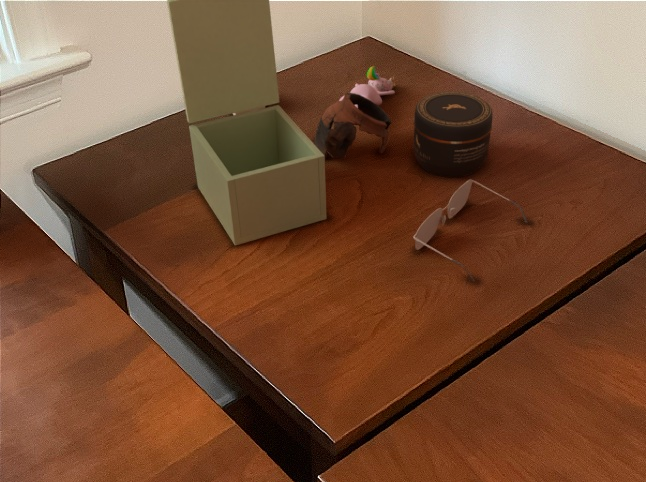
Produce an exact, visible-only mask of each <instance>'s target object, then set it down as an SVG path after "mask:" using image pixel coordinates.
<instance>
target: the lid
mask: <svg viewBox="0 0 646 482" xmlns="http://www.w3.org/2000/svg"><path fill="white" fill-rule="evenodd" d="M166 4H167V11H168V15H169V23H170V28H171V33H172V39H173V45H174V51H175V56H176V62H177V63H176V64H177V68H178V74H179V75H178V76H179V79H180V86H181V91H182V92H181V93H182V97H183V104H184V109H185V115H186V121H187V123H188V124H192V123H197V122H201V121H205V120H210V119H215V118H218V117H223V116H229V115H233V114H232V113H236V112H241V111H245V110H249V109H253V108H258V107H262V106H265V107H267V106H271V105H275V104H279V103H280V95H279V84H278V76H277V75H278V74H277V63H276V55H275V45H274V36H273V35H274V34H273V24H272V16H271V6H270V5H271V4H270V0H166Z"/></svg>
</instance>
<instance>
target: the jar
mask: <svg viewBox="0 0 646 482" xmlns="http://www.w3.org/2000/svg"><path fill="white" fill-rule="evenodd" d="M413 115H414V117H413V144H412V145H413V152H414V156H415V160H416V162H417V163H418V164H419V166H420V167H421V168H422V169H423V170H425V171H426V172H428V173H430V174H433V175H436V176H440V177H445V178H446V177H447V178H460V177H465V176H469V175H471V174H474V173H475V172H477V171H478V170H479V169H481V168H482V167H483V165H484V163H485V161H486V160H487V157H488V154H489V149H490V141H491V133H492V129H493V119H494V113H493V108H492V106H491V105H490V104H489V102H488V101H486V100H485V99H483V98H482V97H480V96H478V95H476V94H472V93H469V92H463V91H451V90H449V91H440V92H434V93H431V94H428V95H426V96H424V97H422V98H421V99H420V100H419V101H418V102H417V104H416V105H415V108H414V114H413Z"/></svg>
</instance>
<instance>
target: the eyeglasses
mask: <svg viewBox="0 0 646 482" xmlns="http://www.w3.org/2000/svg"><path fill="white" fill-rule="evenodd" d="M473 183H474V184H475V185H478V186H480V187H481V188H484V189H485V190H488V191H490V192H491V193H493V194H495V195H497V196H499V197H501V198H502V199H505V200H506V201H508V202H510V203H511V204H513V205H515V206H517V207H518V208H519V210H520V211H521V214H522V217H523V220H524V222H525V223H526V224H527V223H528V220H527V218H526V216H525V213H524V210H523V209H522V207H521V205H519V204H518V203H516V202H514V201H513V200H511V199H509V198H507V197H506V196H503V194H501V193H498V192H496V191H495V190H492V189H491V188H489V187H487V186H485V185H483V184H481V183H480V182H478V181H476V180H473V179H472V178H470V179H468V180H467V181H465V182H464V183H463V184H461V185H460V186H459V187H458V189H456V190H455V192H453V194H452V196H451V197H450V199H449V201H448V204H447V205H446V206H445V207H443V208H442V207H439V208H437V209H435V210H434V211H433V212H432V213H431V214H430V215H429V216H427V218H426V219H425V220H424V221H423V222H422V223H421V224H420V225H419V227H418V229H417V230H416V233H414V235H413V240H414V241H415V250H416V251H418V250H421V249H422V248H423V247H427V248H428V249H430V250H432V251H434V252H436V253H438V254H439V255H441V256H443V257H445V258H447V259H449V260H451V261H452V262H454V263H455V264H457V265H459V266H461V267H463V268H464V269H465V270H466V272H467V273H468V275H469V277H470V279H471V281H473V282H475V281H476V280H475V279H474V278H473V276H472V273H471V271H469V269H468V268H467V267H466V266H465V265H464V264H462V263H460V261H459V262H458V261H457V260H455V259H453V258H451V257H450V256H449V255H446V254H445V253H442V252H441V251H439V250H438V249H435V248H434V247H432V245H429V244H427V243H428V242H429V241H430V240H431V239H432V238H433V236H434V235H435V234H436V232H437V230H438V227H439V226H441V227H443V226H444V225H445V223H446V220H447V218H448V219H452V218H453V217H455V216H456V215H457V213H459V212H460V211H461V210H462V209H463V207H464V206H465V205H466V203H467V201H468V199H469V195H470V193H471V190H472V184H473ZM446 209H447V216H446V215H445V214H444V215H443V211H445V210H446ZM440 222H441V223H440ZM525 223H524V224H525ZM439 224H440V225H439Z"/></svg>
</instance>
